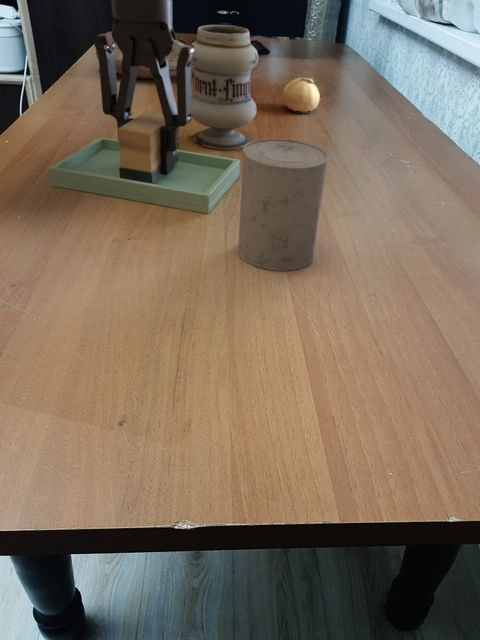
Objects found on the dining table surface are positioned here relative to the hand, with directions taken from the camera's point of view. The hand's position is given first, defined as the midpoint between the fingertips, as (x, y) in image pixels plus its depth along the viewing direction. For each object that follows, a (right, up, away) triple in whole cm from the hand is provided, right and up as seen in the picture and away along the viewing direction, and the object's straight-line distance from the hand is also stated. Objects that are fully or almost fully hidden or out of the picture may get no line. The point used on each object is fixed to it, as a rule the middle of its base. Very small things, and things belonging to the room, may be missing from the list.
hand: (149, 168), depth 85 cm
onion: (+25, +25, +39) cm, 53 cm away
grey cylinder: (+18, -15, -14) cm, 27 cm away
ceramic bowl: (-12, +41, +55) cm, 70 cm away
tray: (0, -1, +1) cm, 2 cm away
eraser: (0, 0, 0) cm, 0 cm away
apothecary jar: (+9, +11, +19) cm, 23 cm away
